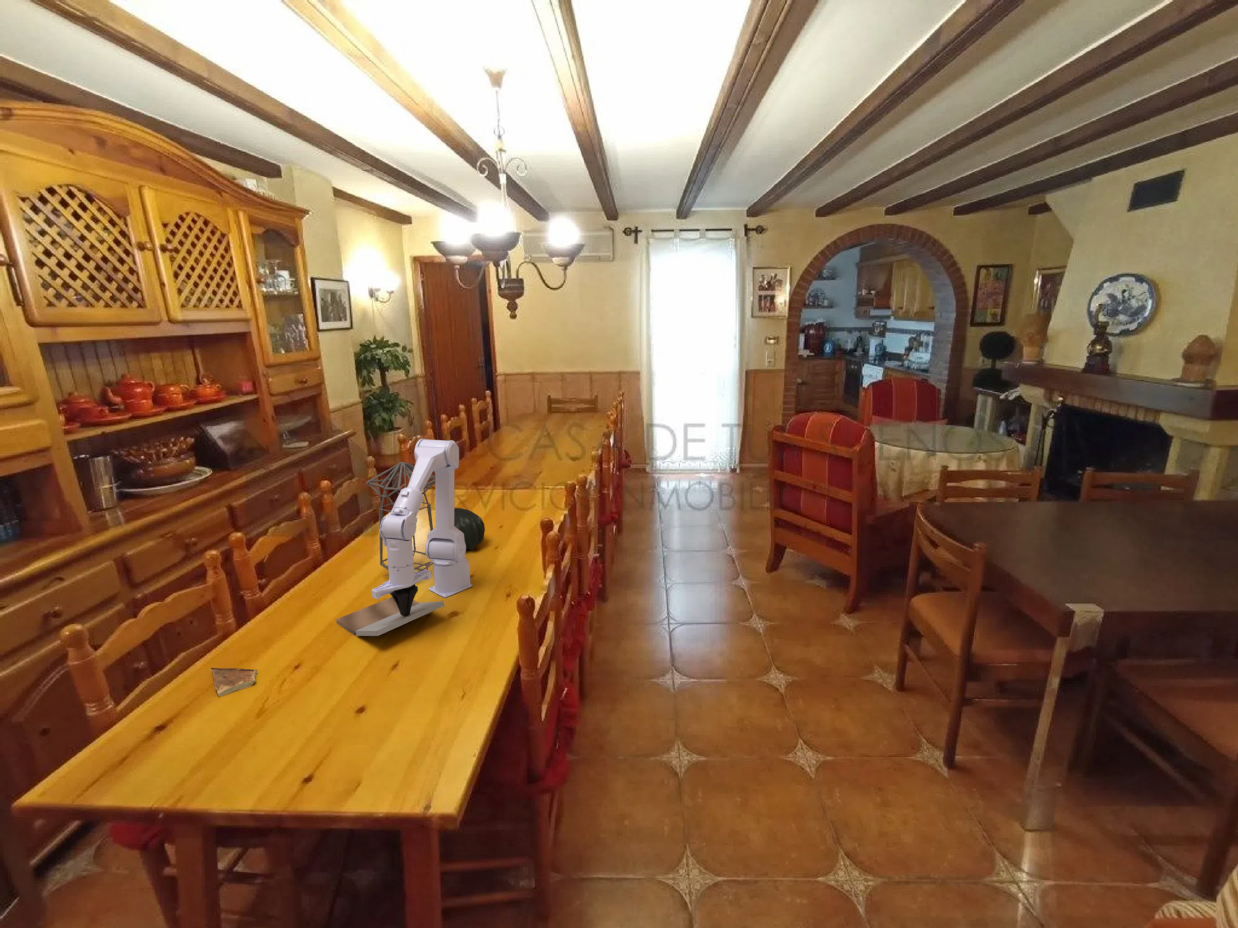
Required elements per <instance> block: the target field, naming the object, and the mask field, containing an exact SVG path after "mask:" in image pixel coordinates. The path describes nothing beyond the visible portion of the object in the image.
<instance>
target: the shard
mask: <svg viewBox="0 0 1238 928" xmlns="http://www.w3.org/2000/svg"><path fill="white" fill-rule="evenodd" d="M210 670H211V673H212V676H213V685H214V689H215V691H216V692H217V695H218V697H223V696H225V695H226V696H227V695H229V694H231V693H235V692H236V691H240V690H243V689H246V688H250V687H252V686H253V684H255V682H256V676H257V675H258V670H257V669H252V668H251V669H250V668H235V667H234V668H233V667H232V668H229V667H228V668H227V667H226V668H225V667H224V668H221V667H218V668H217V667H210Z"/></svg>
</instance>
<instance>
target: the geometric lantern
mask: <svg viewBox="0 0 1238 928" xmlns="http://www.w3.org/2000/svg"><path fill="white" fill-rule="evenodd" d="M414 467H415V465H413V464H411V463H409V462H407V461H406V462H404V461H399V462H398V463H397V464H394V465H393V466H392V467H389V469H387V470H385V471H382V472H381V473H379V474H378V475H376V476H374V477H372V478H370V479H368V480H367V481H366V483H365V485H368V486H369V487H370V488H371V489H372V490H373V491H374V492H375V493H376V494H377V495H379V500H378V501H379V503H378V525H379V526H378V528H379V529H378V530H380V524H381V521H382V519H383V518H384V511H385V512H389V513H391V511H392V510H389V509H384V507H385V508H386V507H388V506H394V504H395V502H396V501H395V502H393V500H392V499H391V496H392V495H393V494H395V493H397V494H398V495H399V494H400V492H399V491H401V490H402V489H404V488H407V487H408V486H407V479H406V477H407V478H408V480H409V481H410V478H411V475H412V473H413V470H414ZM388 472H390V473H388ZM398 472H399V473H398ZM387 473H388V474H387ZM384 474H385V475H386V474H387V476H386V477H385V478H384V479H378V478H380V477H381V476H383V475H384ZM402 476H404V487H403V488H401V483H402ZM396 478H397V480H396V481H395V479H396ZM432 479H433V480H432ZM429 480H430V481H429ZM429 480H428V481H427V483H426V485H425V487H424V489H423V491H422V494H423V497H424V500H425V502H424V501H423V502H422V504H425V505H426V506H423V507H420V509H419V511H421V510H424V509H426V510H427V516H428V523H429V531H430V532H431V531H432V530H433V529H434V524H433V517H432V508H431V507H432V506H431V505H432V503H429V501H428V498H427V497H428V496H427V491H428V490H429V489H431V488H432V487H433V486H434V485H435V474H433V473H432V474H431V476H430V478H429ZM386 481H388V482H387V483H386ZM409 481H408V482H409ZM391 482H392V485H391V486H390V484H391ZM394 482H395V483H394ZM379 483H380V484H379ZM374 486H376V487H377V489H376V488H375V487H374ZM396 486H397V487H396ZM381 489H383V493H381ZM387 490H389V491H391V490H392V492H390V493H389V494H387ZM385 498H387V500H389V502H390V503H387V504H384V501H385ZM415 535H416V534H414V536H413V538H412V545H413V557H414V556H415V553H416V554H419V555H423V556H424V555H425V556H426V553H425V552H423V551H418V550H417V549H416V538H415ZM383 546H384V542H383V538H382V537H381V536H380V533H379V565H380V566H381V567H383V568H384V569H386V570H387V571H389V569H388V564H385V562H386V561H387V562H388V558H387V557H386V558H385V559H383V557H384V556H383V555H384V554H383V549H384V548H383ZM414 565H418V566H416V567H415V566H414V571H415V570H417V571H416V572H419V571H423V570H426V569H427V570H429V568H430V567H431V566H433V563H432V562H431V560H430V561H428V562H426V563H419V562H415V561H414ZM424 566H425V567H424ZM423 567H424V568H423Z"/></svg>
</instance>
